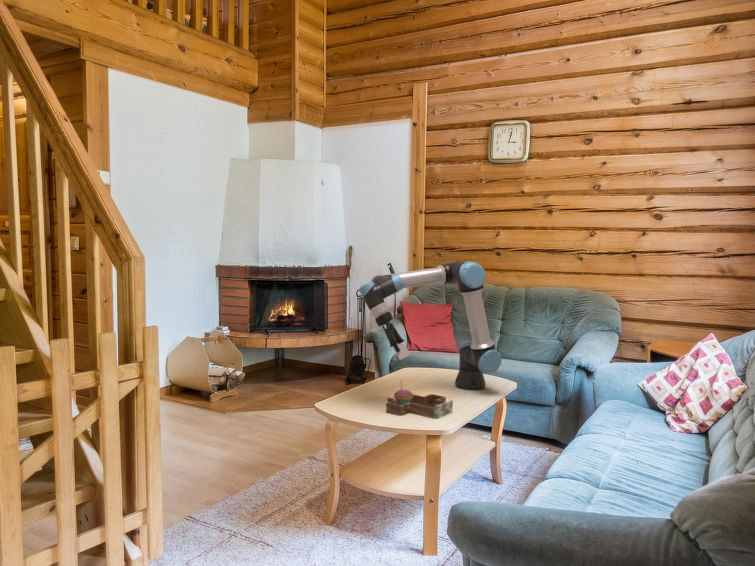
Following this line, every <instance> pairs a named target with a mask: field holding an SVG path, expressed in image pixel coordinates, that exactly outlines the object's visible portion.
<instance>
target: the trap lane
mask: <svg viewBox="0 0 755 566" xmlns="http://www.w3.org/2000/svg"><path fill="white" fill-rule="evenodd" d="M413 396H414V397H413V399H411V401H410V402H409V403H406V404H404V405H401V406H400V405H398V400H397V399H395V398H391V397H387V401H386V403H385V404H386V406H385V408H386V409H385V410H386V411H385V412H386V413H387V414H392V415H395V416H402V417H403V416H404V415H408V414H414V415H418V416H422V417H427V418H430V419H434V418H435V419H434V420H436V418H437V419H439V418H442V417H444V416H447V415H449V414H451V412H452V413H453V403H454V401H453V400H448V401H447V397H446V396H443V395H439V394H435V393H430V394H427V395H423V396H422V395H417V394H414V393H413ZM446 414H447V415H446ZM441 416H442V417H441Z"/></svg>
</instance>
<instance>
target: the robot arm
mask: <svg viewBox="0 0 755 566" xmlns="http://www.w3.org/2000/svg"><path fill="white" fill-rule="evenodd" d="M485 280H486V271H485V269H484V267H483V266H481V265H480V263H477V262H474V261H463V260H459V261H458V260H457V261H452V262H448V263H444V264H443V263H442V264H438V265H437V267H432V268H431V267H430V268H425V269H418V270H417V269H416V270H411V271H404V272H398V273H396V272H395V273H390V274H384V275H383V274H382V275H380V274H378V275H374V276H373V277H372V278H371V279H370V281H368V282H366V283H365V284H362V285H361V286H360V287H359V293H360V295H361V298H362V299H363V301H364V303H365V305H366V306H367V308H368V310H369V312H370V313H369V314H370V315H371V316H372V317H373V318H374V319H375V320H374V322H376V324H377V326H378V327H382V329H383V331H384V333H385V335H386V338H387V340H388V342H389V347H390V348H393V350H394V352H395V354H396V356H397V357H398V360H400V361H401V360H403V359H405V358H407V357H409V356H410V355H411V354H410V352H409V350H408V348H407V347H406V344H405V343H404V342H405V339H404V338H402V337H401V335H400V334H399V332H398V330H397V329H396V327H395V325H394V324H393V322H391V321H392V320H393V319H394V317H393V315H392V313H391V312H390V311H389V307H388V306H387V304H386V302H385V301H384V299H386V298H388V297H391V296H392V295H394V294H396V293H399V292H400V291H402V290H403V289H408V288H409V289H410V288H413V287H414V288H415V287H421V286H426V285H428V286H429V285H434V284H441V285H448V284H449V285H457V289H458V293H459V294H461V295H462V296H463V301H464V306H465V312H466V316H467V321H468V325H469V330H470V331H469V332H470V335H471V340H466V341H465V340H464V341H461V342H460V344H459V345H460V346H459V366H458V367H459V369H458V373H457V375H456V378H455V382H454V386H455V387H456V388H459V389H463V390H468V389H469V390H468V391H470V390H473V391H480V390H484V389H485V388H486V383H487V382H486V380H485V376H484V374H493V373H495V372H497V370H499V368H500V367H501V365H502V362H503V361H502V360H503V359H502V358H503V357H502V354H501V353H500V352H499V351H498V350H497V349H496V344H495V342H494V341H493V340H492V339H491V335H490V330H489V329H490V328H489V324H488V320H487V314H486V309H485V305H484V299H483V294H482V291H483V290H484V283H485Z"/></svg>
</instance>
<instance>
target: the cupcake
mask: <svg viewBox="0 0 755 566" xmlns="http://www.w3.org/2000/svg"><path fill="white" fill-rule="evenodd" d="M403 387H404V386H403V380H402V379H400V389H399V390H397V391H395V393H393V399H397V400H398V405H400V406H401V405H404V404H406V403H409V402H410V401H411V399H413V397H414V396H413V394H414V393H412V392H411V391H410V390H408V389H403Z"/></svg>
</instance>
